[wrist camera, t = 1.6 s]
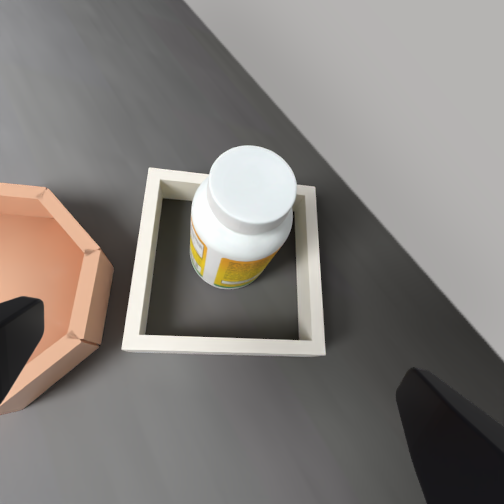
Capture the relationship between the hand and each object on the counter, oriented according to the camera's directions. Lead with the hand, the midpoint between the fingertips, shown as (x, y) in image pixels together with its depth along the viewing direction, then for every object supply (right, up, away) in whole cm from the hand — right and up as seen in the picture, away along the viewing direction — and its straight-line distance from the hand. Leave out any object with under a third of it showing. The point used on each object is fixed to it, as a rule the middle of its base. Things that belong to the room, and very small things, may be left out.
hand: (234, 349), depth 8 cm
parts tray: (-1, +1, +15) cm, 15 cm away
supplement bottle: (-1, +2, +15) cm, 16 cm away
